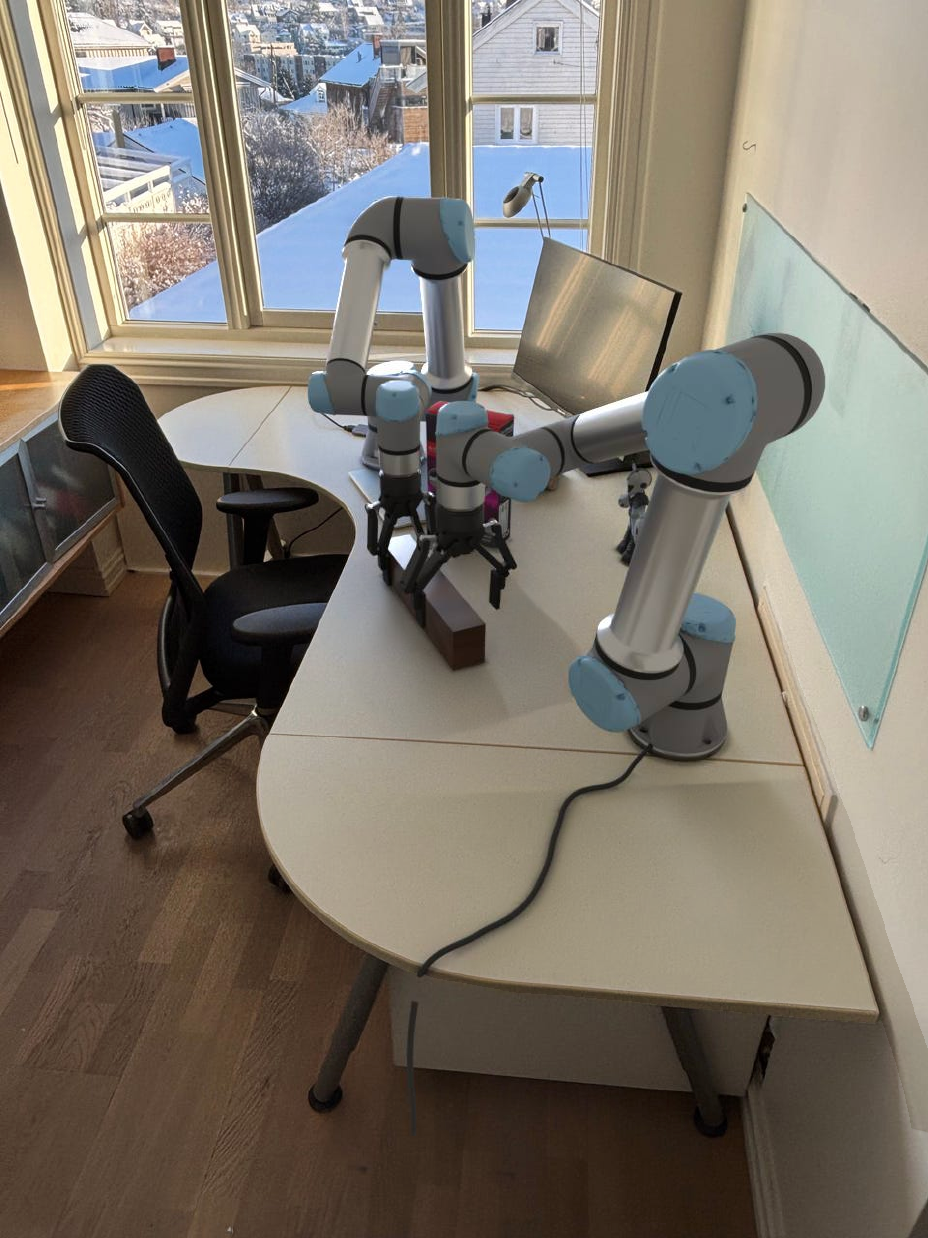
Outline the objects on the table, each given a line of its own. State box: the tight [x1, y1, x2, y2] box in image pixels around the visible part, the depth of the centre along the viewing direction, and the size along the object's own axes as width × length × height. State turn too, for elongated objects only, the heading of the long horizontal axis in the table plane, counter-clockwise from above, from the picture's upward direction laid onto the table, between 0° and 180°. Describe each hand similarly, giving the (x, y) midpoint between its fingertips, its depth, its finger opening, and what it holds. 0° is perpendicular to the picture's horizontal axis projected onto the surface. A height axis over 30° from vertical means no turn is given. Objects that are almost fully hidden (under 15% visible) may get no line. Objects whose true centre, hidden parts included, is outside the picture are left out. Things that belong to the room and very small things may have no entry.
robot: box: [615, 459, 653, 566], centre depth 183 cm, size 20×5×20 cm, turn 3°
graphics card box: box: [425, 401, 516, 550], centre depth 187 cm, size 17×7×27 cm, turn 62°
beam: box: [381, 533, 487, 672], centre depth 167 cm, size 34×6×8 cm, turn 25°
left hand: (403, 578), depth 179 cm, fingers closed on beam, 6 cm apart
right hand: (458, 614), depth 155 cm, fingers open, 13 cm apart
